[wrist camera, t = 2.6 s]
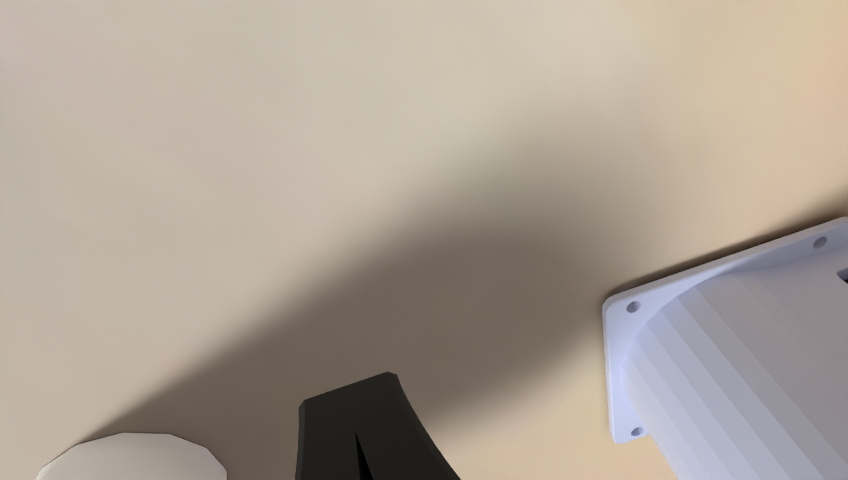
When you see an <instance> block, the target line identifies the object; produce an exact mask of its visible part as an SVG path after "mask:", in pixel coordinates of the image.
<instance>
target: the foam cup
mask: <svg viewBox="0 0 848 480" xmlns="http://www.w3.org/2000/svg"><path fill="white" fill-rule="evenodd" d="M36 480H227V473H226V470H225V468H224V467H223V466H222V465H221V464H220V463H219V462H218V460H217V459H216V458H215V457H214V456H213V455H212V454H211V453H210V451H209V450H208V449H207V448H205V447H203V446H200V445H197V444H195V443H192V442H189V441H187V440H184V439H181V438H179V437H176V436H173V435H171V434H151V433H120V434H116V435H112V436H108V437H104V438H101V439H97V440H93V441H89V442H85V443H82V444H78V445H75V446H74V447H72V448H71V449H69V450H68V451H66V452H65V453H64V454H62V455H61V456H59V457H58V458H56V459H55V460H53V461H52V462H50V463H49V464H47V465H46V466H44V467H43V468H42V469H41V470H40V472H39V474H38V476H37V478H36Z"/></svg>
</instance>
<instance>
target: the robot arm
mask: <svg viewBox="0 0 848 480" xmlns="http://www.w3.org/2000/svg"><path fill="white" fill-rule="evenodd" d="M631 302H632V303H631ZM630 303H631V304H630ZM602 321H603V336H604V352H605V367H606V382H607V397H608V413H609V428H610V435H611V437H612V438H613V440H614V442H616V443H626V442H629V441H632V440H634V439H637V438H640V437H643V436H645V435H648V434H650V436H651V437H652V439H653V440H654V442H655V444H656V445H657V447H658V448H659V450H660V452H661V453H662V455H663V456H664V458H665V459H666V461H667V463H668V464H669V466H670V467H671V469H672V470H673V472H674V474H675V475H676V477H677V478H678V480H848V217H847V216H845V217H840V218H837V219H834V220H831V221H828V222H826V223H823V224H820V225H817V226H814V227H811V228H808V229H805V230H802V231H799V232H796V233H793V234H790V235H787V236H785V237H782V238H779V239H776V240H773V241H770V242H767V243H764V244H761V245H758V246H755V247H752V248H749V249H747V250H744V251H741V252H738V253H735V254H732V255H729V256H726V257H723V258H720V259H717V260H714V261H711V262H708V263H706V264H703V265H700V266H697V267H694V268H691V269H688V270H685V271H682V272H679V273H676V274H673V275H670V276H668V277H665V278H662V279H659V280H656V281H653V282H650V283H647V284H644V285H641V286H638V287H635V288H632V289H629V290H627V291H624V292H621V293H618V294H615V295H613V296H611V297H609V298H608V299H607V300H606V301H605V302H604V304H603V306H602ZM295 480H461V479H460V478H459V477H458V475H457V474H456V473H455V472H454V470H453V469H452V468H451V466H450V465H449V464H448V462H447V461H446V460H445V458H444V457H443V455H442V454H441V452H440V451H439V450H438V448H437V447H436V445H435V444H434V442H433V441H432V439H431V438H430V436H429V435H428V433H427V432H426V430H425V428H424V427H423V425H422V424H421V422H420V421H419V419H418V417H417V415H416V414H415V412H414V410H413V409H412V407H411V405H410V403H409V401H408V399H407V397H406V395H405V393H404V391H403V389H402V387H401V385H400V382H399V379H398V377H397V375H396V374H393V373H390V372H385V373H382V374H379V375H376V376H373V377H370V378H367V379H364V380H361V381H359V382H356V383H353V384H350V385H347V386H344V387H341V388H338V389H335V390H332V391H329V392H326V393H323V394H320V395H318V396H315V397H312V398H309V399H306V400H304V401H303V403H302V404H301V406H300V407H299V437H298V454H297V466H296V475H295Z"/></svg>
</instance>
